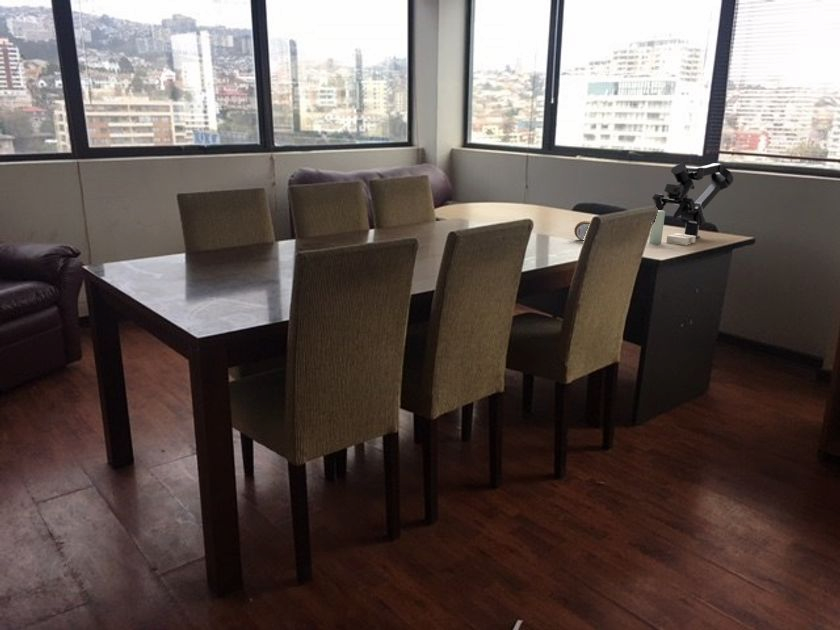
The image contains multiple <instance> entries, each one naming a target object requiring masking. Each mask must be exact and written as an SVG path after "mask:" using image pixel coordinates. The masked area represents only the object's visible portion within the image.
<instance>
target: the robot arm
mask: <svg viewBox="0 0 840 630" xmlns="http://www.w3.org/2000/svg"><path fill="white" fill-rule="evenodd" d="M670 170H671V174H672V176H673V180H674V181H675V182H676V183H677V184H672V183H671V184H670V183H667V184H666V185H665V187H664V191H663V192H666V193H667V194H666V196H667V197H666V196H665V195H664V194H662V193H654V194H653V196H652V201H653V203H654V205H655V208H656V207H657V208H658V210H662V211H663V210H664V208H665V206H666V205H667V204H671V205H676V206H678V208H677V209H676V210H675V212H674V214H673V216H672V219H674V220H675V219H676V218H679V217H681V223H682V224H685V228H684V234H685V235H692V236H696V239H698V238H700V237H701V235H699V228H700V226H703V225H704V224H705V221H706V219H705V217H704V209H705V208H706V206H708V205H709V204H710V203H711V202H712V200H713V199H714V198H715V197H716V196H717V195H718V193H720V191H723V190H726V189H727V188H728V187H730V186H731V185H732V183H733V182H734V176H733V174H732V172H731V171H730V170H729V169H727V168H726V167H725V165H724V164H723V163H717V162H716V163H715V162H714V163H713V162H712V163H710V164H707V165H702V166H698V167H697V166H687V165H686V162H679V164H677V165H674V166H673V167H671V169H670ZM709 175H710V176H709ZM705 176H709V177H710V180H711V183H710V185H709V186H708V187H707V188H706V189H705V191H703V192H702V194H700V196H699V197H698V198H697V199H696V200H695V202H694V200H693V198H691V197H688V194H689V192H690V191H691V190H695V183H694V181H697V182H698V181H701V180H702V179H703V178H704V177H705Z"/></svg>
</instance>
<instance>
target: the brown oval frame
mask: <svg viewBox="0 0 840 630" xmlns="http://www.w3.org/2000/svg"><path fill="white" fill-rule="evenodd" d="M590 222H591V221H590V220H589V221H586V220H585V221H580V222H578V223H577V224H576V225H575V227H574V235H575V237H576V238H577V239H578V240H579V241H582V240H583V239H584V236H585V234H586V231H587V229H588V226H589V224H590Z"/></svg>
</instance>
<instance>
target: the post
mask: <svg viewBox="0 0 840 630" xmlns="http://www.w3.org/2000/svg"><path fill="white" fill-rule="evenodd" d="M665 214H666V211H665V210H663V209H662V210H658V213H657V216H656V219H655V222H654V224H653V227H652V230H651V229H650V232H651V233H649V240H648V241H649V244H651V245H652V244H653V245H661V244H662V241H663V240H662V239H663V232H664V223H665V216H666V215H665Z"/></svg>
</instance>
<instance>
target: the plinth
mask: <svg viewBox="0 0 840 630" xmlns="http://www.w3.org/2000/svg"><path fill="white" fill-rule="evenodd" d="M696 239H697V238H696V236H692V235H685V233H684V234H683V233H677V232H676V233H671V234H668V235H666V243H669V244H675V245H682V246H689V245H692V244H691V243H693V244H695V243H696ZM694 242H695V243H694ZM688 244H689V245H688Z"/></svg>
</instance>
